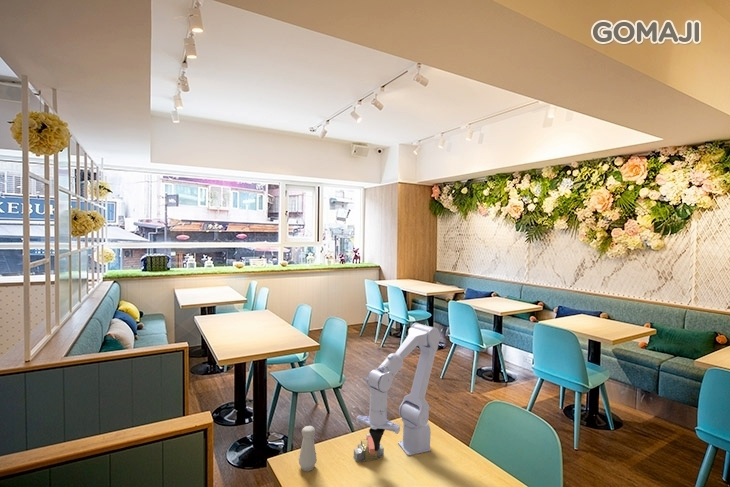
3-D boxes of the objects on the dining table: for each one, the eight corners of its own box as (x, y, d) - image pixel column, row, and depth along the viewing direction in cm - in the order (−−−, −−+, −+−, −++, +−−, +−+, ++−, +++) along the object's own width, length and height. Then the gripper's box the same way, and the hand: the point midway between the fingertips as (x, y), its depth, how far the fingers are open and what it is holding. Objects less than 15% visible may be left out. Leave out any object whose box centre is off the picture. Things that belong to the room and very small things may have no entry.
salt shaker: (312, 474, 114) (313, 434, 113) (295, 471, 115) (296, 431, 115) (318, 463, 120) (319, 424, 119) (302, 460, 121) (303, 422, 120)
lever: (366, 437, 125) (366, 433, 125) (371, 437, 125) (371, 433, 125) (369, 453, 116) (369, 448, 116) (375, 453, 116) (375, 448, 116)
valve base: (379, 450, 128) (380, 434, 128) (384, 457, 124) (385, 441, 123) (352, 455, 124) (353, 439, 124) (357, 463, 120) (357, 446, 120)
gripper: (352, 408, 117) (351, 449, 117) (395, 418, 111) (394, 462, 111) (361, 399, 123) (360, 439, 123) (402, 408, 117) (401, 450, 117)
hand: (376, 449), depth 118 cm, fingers closed, pressing on lever
